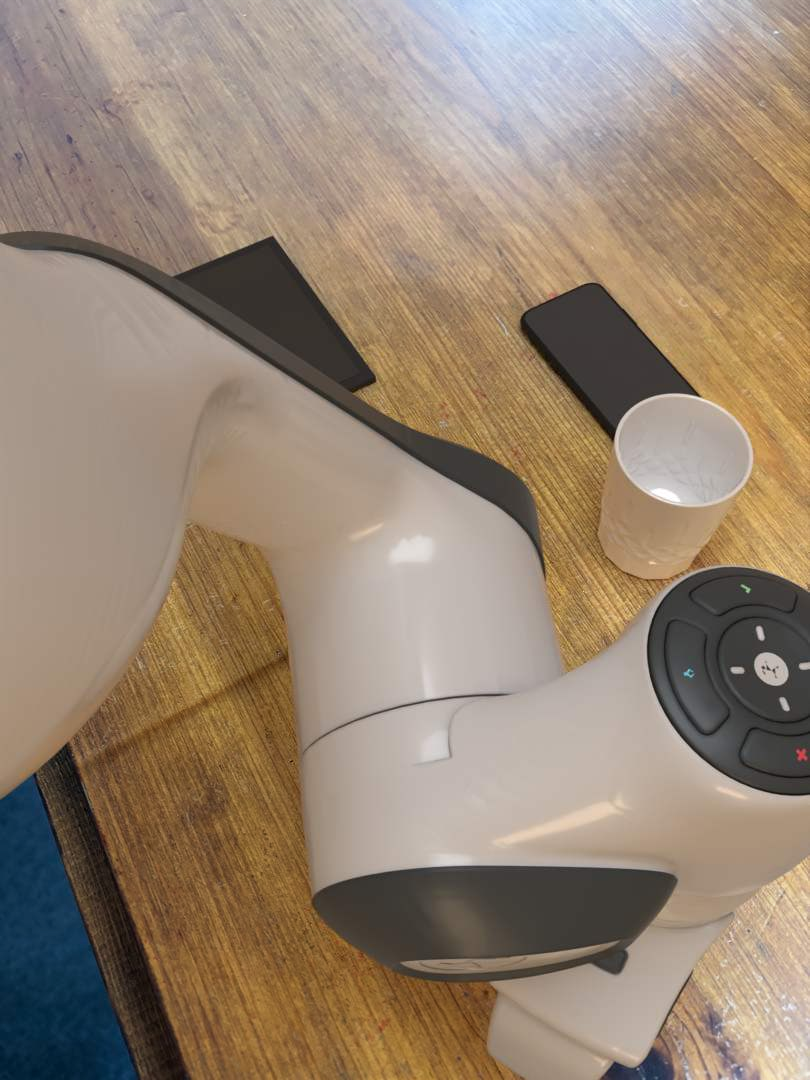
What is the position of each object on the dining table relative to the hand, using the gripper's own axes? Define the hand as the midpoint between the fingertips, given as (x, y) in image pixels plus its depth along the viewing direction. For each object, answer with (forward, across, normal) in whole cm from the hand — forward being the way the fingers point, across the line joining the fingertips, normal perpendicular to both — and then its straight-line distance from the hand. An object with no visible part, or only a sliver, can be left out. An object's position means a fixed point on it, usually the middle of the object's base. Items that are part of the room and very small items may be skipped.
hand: (596, 894), depth 55 cm
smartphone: (+3, -34, -14) cm, 37 cm away
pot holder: (+3, -22, -39) cm, 45 cm away
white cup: (+3, -23, -6) cm, 24 cm away
